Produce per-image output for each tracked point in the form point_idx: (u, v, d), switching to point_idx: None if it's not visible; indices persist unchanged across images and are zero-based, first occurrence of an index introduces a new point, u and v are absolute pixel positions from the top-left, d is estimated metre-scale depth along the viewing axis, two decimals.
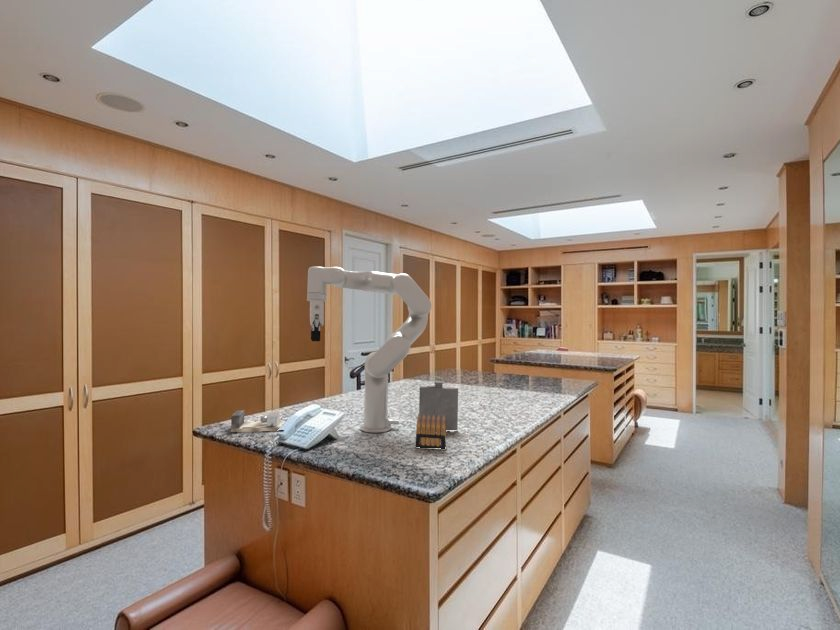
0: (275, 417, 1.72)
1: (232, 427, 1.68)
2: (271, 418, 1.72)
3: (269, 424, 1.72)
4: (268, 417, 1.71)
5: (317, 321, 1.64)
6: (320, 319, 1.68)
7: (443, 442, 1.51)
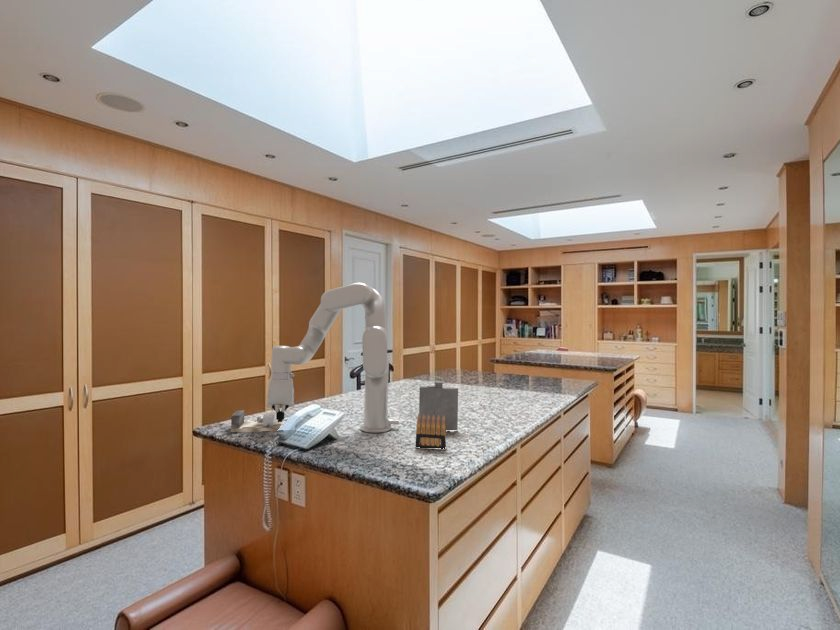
0: (271, 417, 1.72)
1: (232, 427, 1.68)
2: (267, 418, 1.71)
3: (265, 424, 1.71)
4: (264, 417, 1.71)
5: None
6: None
7: (443, 442, 1.51)
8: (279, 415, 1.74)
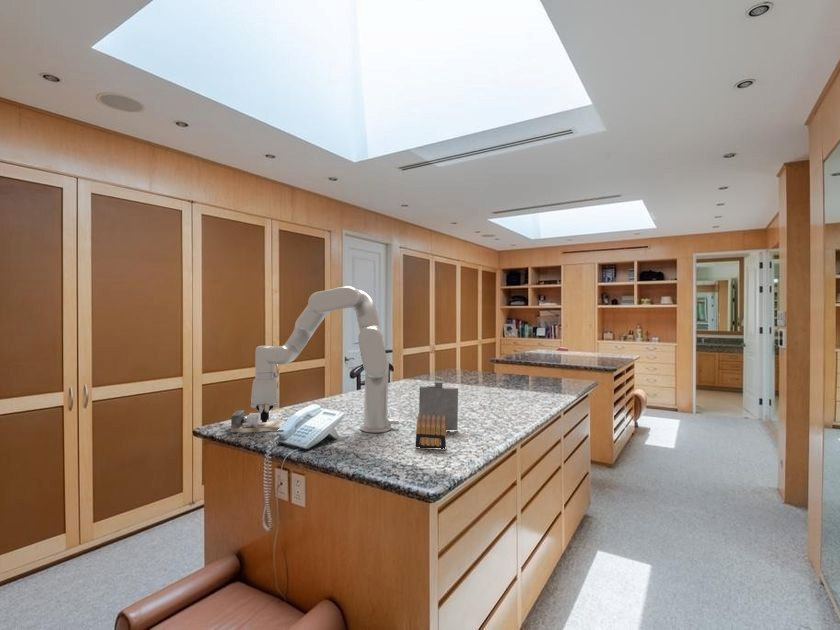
0: (255, 417, 1.71)
1: (232, 427, 1.68)
2: (251, 418, 1.70)
3: (249, 425, 1.70)
4: (248, 417, 1.70)
5: (277, 406, 1.76)
6: (278, 396, 1.77)
7: (443, 442, 1.51)
8: (263, 415, 1.73)
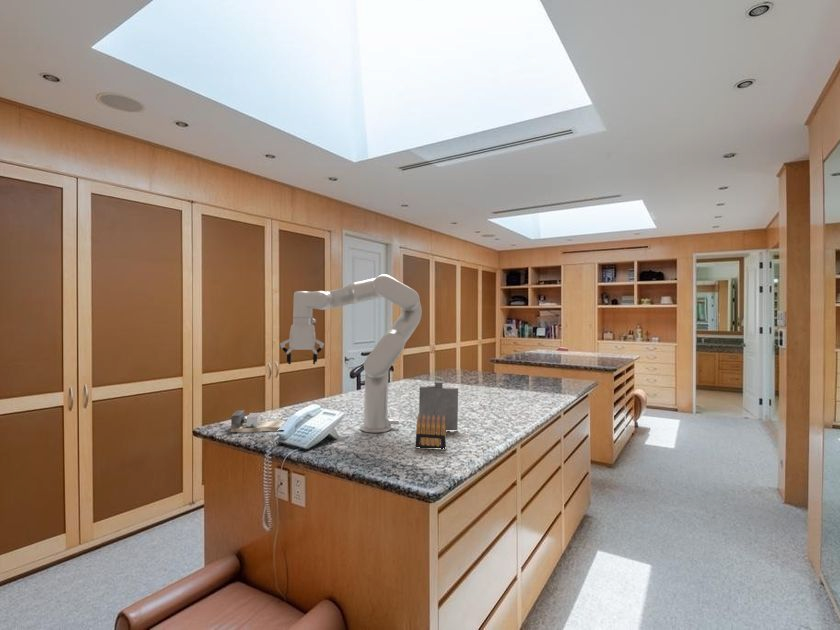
0: (255, 417, 1.71)
1: (232, 427, 1.68)
2: (251, 418, 1.70)
3: (249, 425, 1.70)
4: (248, 417, 1.70)
5: (323, 344, 1.77)
6: None
7: (443, 442, 1.51)
8: (290, 357, 1.73)
